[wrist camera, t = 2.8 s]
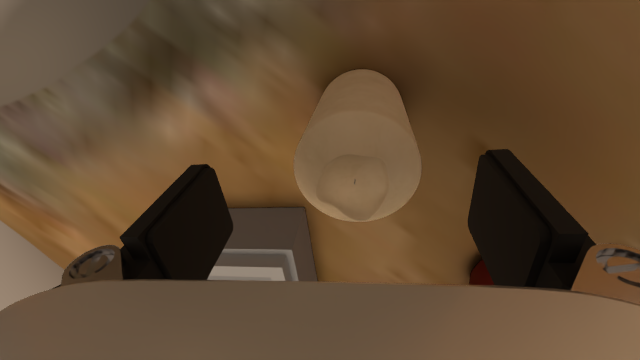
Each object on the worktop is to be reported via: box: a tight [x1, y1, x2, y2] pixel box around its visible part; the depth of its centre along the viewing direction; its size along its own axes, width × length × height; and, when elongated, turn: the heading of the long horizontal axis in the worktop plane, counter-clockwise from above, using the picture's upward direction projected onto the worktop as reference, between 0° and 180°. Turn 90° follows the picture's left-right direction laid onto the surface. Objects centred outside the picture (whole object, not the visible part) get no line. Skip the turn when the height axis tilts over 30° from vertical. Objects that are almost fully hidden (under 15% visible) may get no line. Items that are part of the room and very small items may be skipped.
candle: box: [294, 69, 422, 222], centre depth 16 cm, size 6×6×10 cm
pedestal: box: [207, 207, 318, 282], centre depth 26 cm, size 12×12×6 cm
